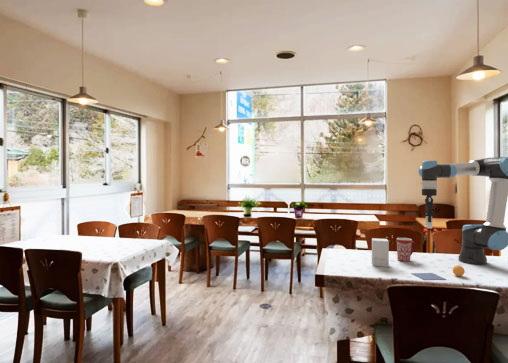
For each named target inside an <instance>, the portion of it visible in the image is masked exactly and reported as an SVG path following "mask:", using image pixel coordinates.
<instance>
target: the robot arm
mask: <svg viewBox="0 0 508 363" xmlns="http://www.w3.org/2000/svg"><path fill="white" fill-rule="evenodd" d="M418 175H419V177H421V182H420V185H421V195H422V196H424V197H425V198H424V204H425V226H426V229H433V215H434V214H433V205H434V198H433V197H435V196H437V192H438V191H437V190H438V189H437V188H438V179H439V178H440V179H450V178H451V179H452V178H454V177H455V176H468V175H470V176H471V177H486V178H487V177H488V180H489V181H490V182H491V183H490V189H489V190H490V191H489V196H488V197H489V199H488V207H487V212H486V218H485V220H486V221H485V222H484V223H482V224H464V225H463V226H462V229H461V250H460V252H459V255H458V261H459V262H461V263H465V264H470V265H486V264H488V259H487V255H486V253H485V249H490V250H493V251H502V250H504V249H506V248H507V247H508V231H507V227H506V226H505V224H504V223H505V217H506V210H507V202H508V156H499V157H498V156H497V157H486V158H479V159H473V160H469V161H468V162H467V161H466V162H457V163H456V162H454V163H438V162H437V160H423V161H422V162H421V166H419V168H418Z"/></svg>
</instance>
